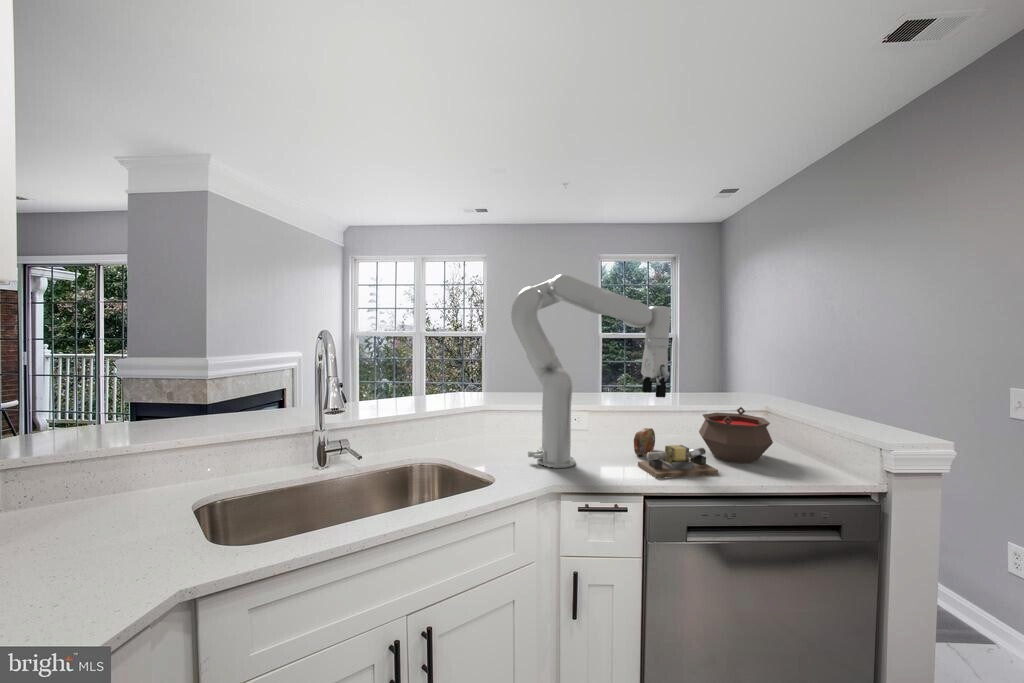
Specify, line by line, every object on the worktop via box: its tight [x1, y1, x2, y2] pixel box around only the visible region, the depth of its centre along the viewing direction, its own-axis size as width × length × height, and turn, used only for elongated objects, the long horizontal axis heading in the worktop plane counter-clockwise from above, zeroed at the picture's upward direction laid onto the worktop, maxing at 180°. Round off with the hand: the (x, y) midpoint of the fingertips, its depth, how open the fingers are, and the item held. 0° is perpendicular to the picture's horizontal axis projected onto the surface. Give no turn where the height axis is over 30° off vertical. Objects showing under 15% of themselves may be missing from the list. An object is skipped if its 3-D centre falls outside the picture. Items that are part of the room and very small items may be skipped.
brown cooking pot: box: [698, 406, 774, 464], centre depth 160 cm, size 24×24×16 cm
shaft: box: [689, 447, 707, 465], centre depth 147 cm, size 6×4×5 cm, turn 121°
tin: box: [633, 427, 656, 457], centre depth 164 cm, size 15×3×8 cm, turn 143°
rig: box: [637, 451, 719, 479], centre depth 145 cm, size 21×12×6 cm, turn 101°
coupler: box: [664, 444, 690, 464], centre depth 145 cm, size 6×4×5 cm, turn 101°
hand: (653, 394), depth 151 cm, fingers open, 9 cm apart
